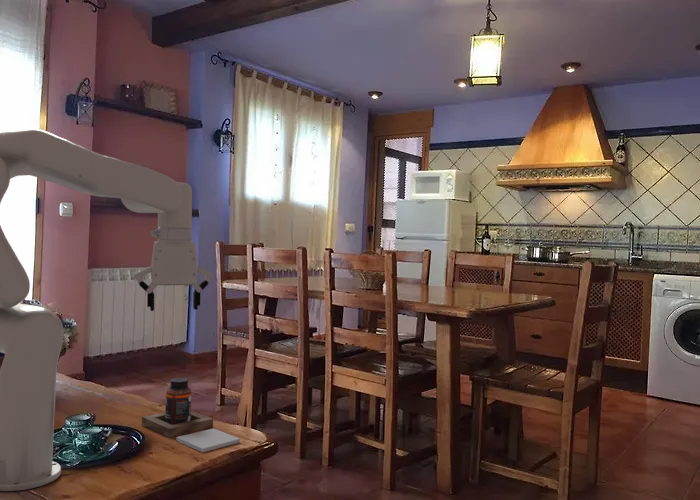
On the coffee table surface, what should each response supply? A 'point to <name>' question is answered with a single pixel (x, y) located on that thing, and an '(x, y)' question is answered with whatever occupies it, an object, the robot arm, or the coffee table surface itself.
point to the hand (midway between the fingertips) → (173, 309)
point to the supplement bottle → (178, 402)
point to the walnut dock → (164, 428)
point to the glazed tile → (207, 440)
